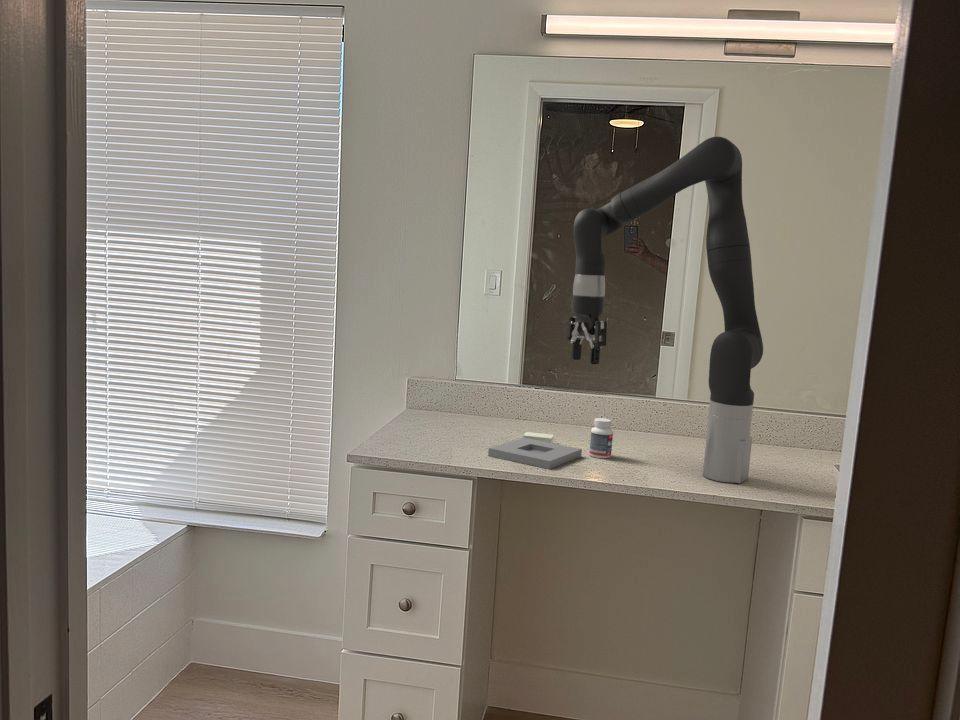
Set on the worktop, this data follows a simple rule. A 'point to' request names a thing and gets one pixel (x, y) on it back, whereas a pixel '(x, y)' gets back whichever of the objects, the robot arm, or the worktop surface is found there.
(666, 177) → the robot arm
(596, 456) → the pill bottle
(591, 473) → the worktop surface
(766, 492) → the worktop surface
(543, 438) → the soap bar
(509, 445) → the grey square slab
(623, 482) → the worktop surface
